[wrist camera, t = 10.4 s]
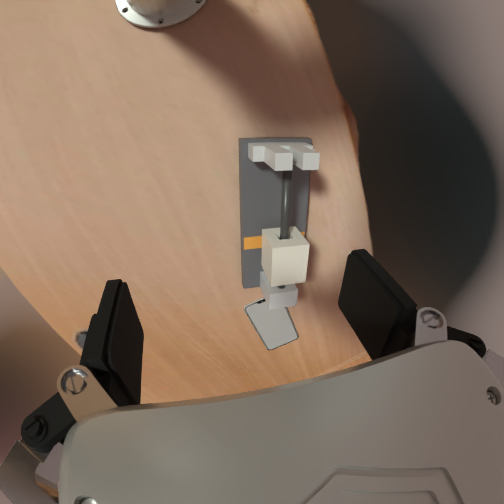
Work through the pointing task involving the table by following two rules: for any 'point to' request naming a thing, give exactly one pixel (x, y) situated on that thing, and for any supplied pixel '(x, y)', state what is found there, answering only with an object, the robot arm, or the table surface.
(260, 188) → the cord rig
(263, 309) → the smartphone
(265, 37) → the table surface
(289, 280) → the notched cream block
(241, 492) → the robot arm
